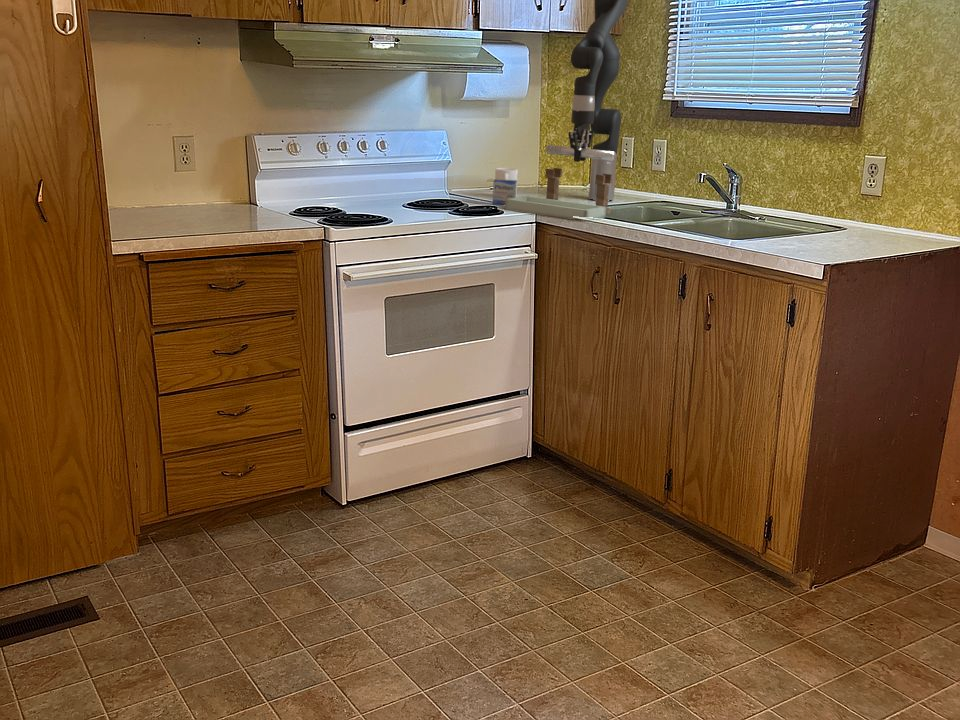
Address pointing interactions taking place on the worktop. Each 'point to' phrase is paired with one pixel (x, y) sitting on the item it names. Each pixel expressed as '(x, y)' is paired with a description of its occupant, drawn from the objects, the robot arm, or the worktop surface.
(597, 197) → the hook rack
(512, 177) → the mug
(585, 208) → the tray
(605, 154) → the rail
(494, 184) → the medicine box
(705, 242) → the worktop surface
